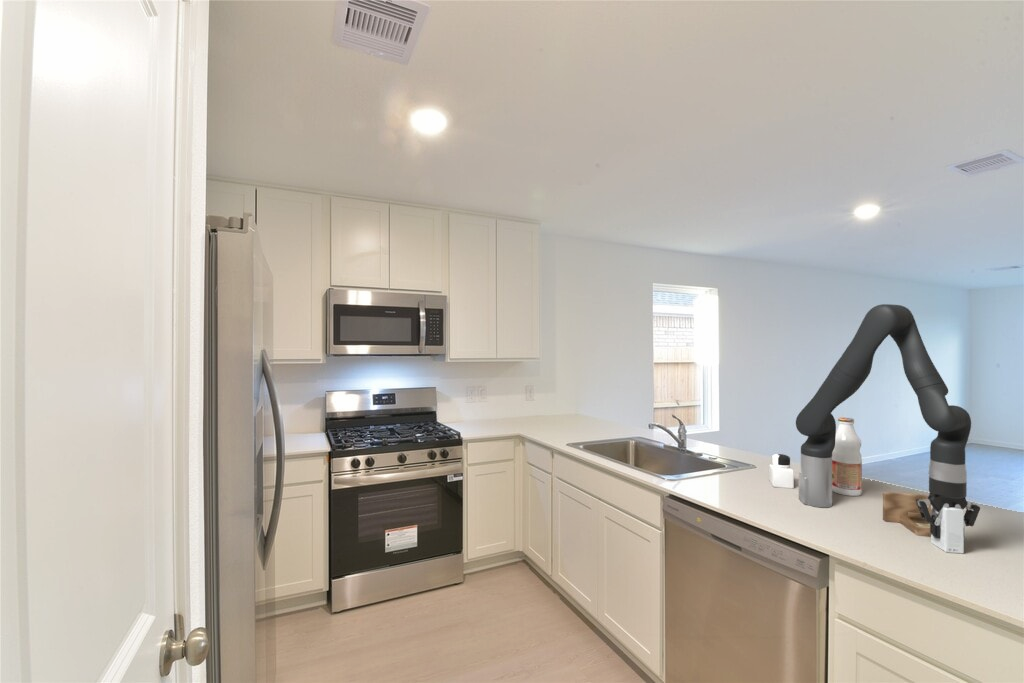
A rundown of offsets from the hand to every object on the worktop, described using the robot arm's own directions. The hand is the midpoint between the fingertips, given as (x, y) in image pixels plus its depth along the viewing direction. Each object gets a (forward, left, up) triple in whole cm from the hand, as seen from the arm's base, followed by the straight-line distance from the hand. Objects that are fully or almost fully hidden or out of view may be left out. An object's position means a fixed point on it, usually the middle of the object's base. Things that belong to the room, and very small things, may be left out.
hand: (947, 538), depth 125 cm
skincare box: (0, 0, -3) cm, 3 cm away
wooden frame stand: (+2, +13, -3) cm, 13 cm away
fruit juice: (-7, +44, -3) cm, 45 cm away
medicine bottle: (-28, +47, -3) cm, 55 cm away
